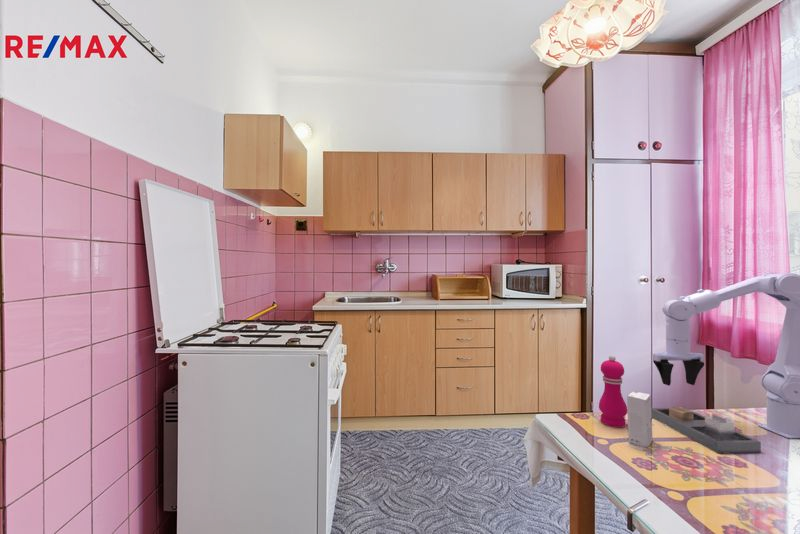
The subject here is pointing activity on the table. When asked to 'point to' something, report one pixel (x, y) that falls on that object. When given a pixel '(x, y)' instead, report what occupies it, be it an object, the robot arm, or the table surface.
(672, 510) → the table surface
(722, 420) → the grey block with tab
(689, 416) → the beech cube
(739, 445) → the grey slotted frame
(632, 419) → the skincare box
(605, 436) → the table surface
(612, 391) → the pepper mill
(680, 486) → the table surface
